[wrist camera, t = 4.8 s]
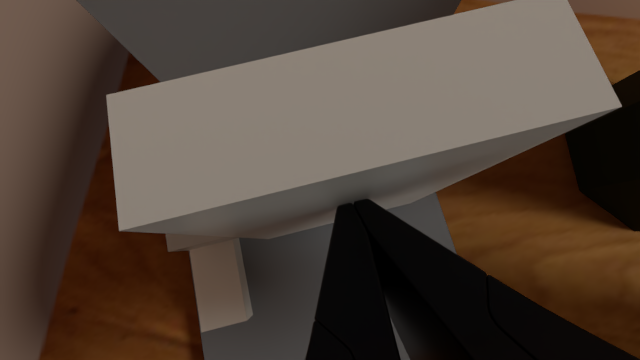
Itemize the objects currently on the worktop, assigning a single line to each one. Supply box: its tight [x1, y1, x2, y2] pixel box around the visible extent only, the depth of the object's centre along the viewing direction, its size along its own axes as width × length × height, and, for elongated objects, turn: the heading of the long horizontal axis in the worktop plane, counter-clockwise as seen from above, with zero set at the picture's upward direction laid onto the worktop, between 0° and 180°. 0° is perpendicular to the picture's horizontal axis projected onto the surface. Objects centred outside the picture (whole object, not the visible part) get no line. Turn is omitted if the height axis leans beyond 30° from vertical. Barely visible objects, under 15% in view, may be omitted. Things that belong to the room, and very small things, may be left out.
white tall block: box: [106, 0, 622, 252], centre depth 9 cm, size 2×10×10 cm, turn 104°
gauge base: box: [77, 0, 461, 360], centre depth 9 cm, size 17×12×12 cm
